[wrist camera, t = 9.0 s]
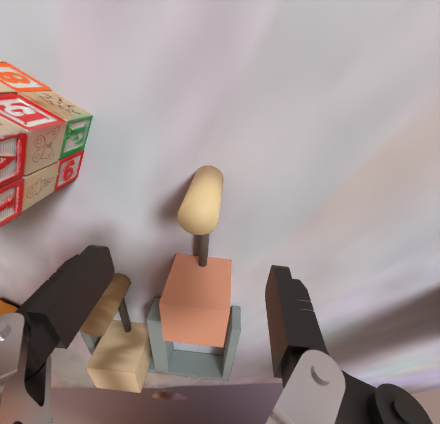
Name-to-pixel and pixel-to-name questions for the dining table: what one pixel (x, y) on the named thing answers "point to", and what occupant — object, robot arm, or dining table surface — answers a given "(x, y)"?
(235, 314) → the shelf rack
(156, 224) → the dining table surface
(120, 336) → the birch block
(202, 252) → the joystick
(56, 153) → the stack of blocks
